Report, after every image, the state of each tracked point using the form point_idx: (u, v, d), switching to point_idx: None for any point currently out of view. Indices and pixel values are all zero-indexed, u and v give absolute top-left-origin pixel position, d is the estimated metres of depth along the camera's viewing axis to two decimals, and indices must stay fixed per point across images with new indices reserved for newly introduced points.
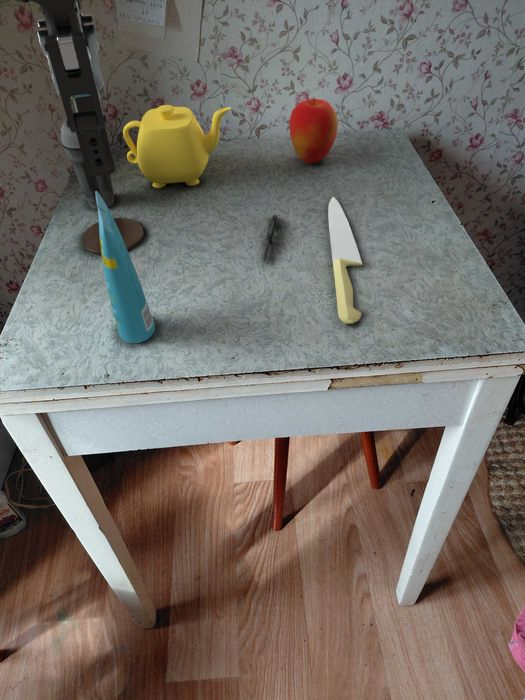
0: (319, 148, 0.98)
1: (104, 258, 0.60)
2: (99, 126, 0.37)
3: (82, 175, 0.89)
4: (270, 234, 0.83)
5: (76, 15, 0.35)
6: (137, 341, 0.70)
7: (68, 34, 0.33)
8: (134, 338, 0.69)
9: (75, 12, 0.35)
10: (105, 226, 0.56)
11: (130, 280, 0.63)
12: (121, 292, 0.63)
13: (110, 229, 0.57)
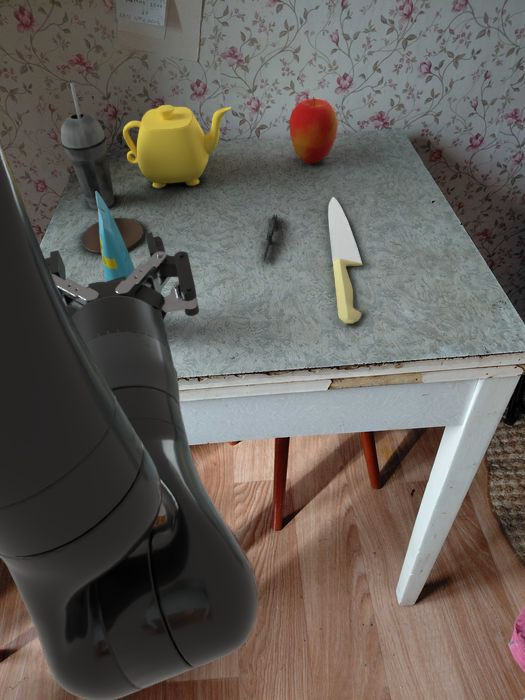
0: (319, 148, 0.98)
1: (104, 258, 0.60)
2: None
3: (82, 175, 0.89)
4: (270, 234, 0.83)
5: None
6: None
7: None
8: None
9: None
10: (105, 226, 0.56)
11: None
12: None
13: (110, 229, 0.57)
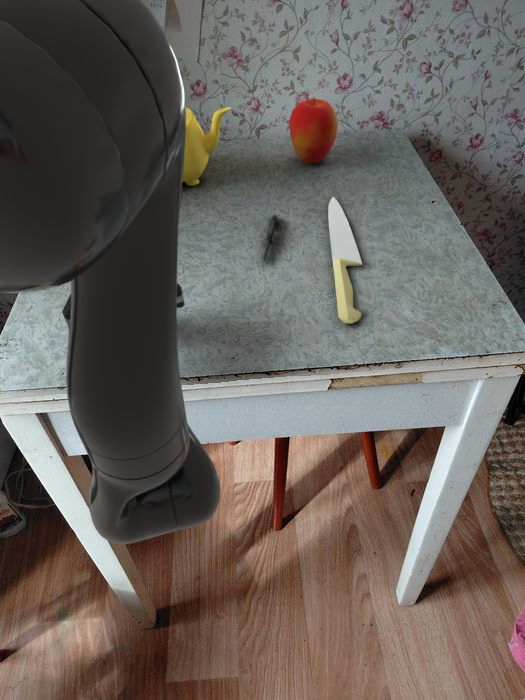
0: (319, 148, 0.98)
1: None
2: None
3: None
4: (270, 234, 0.83)
5: None
6: None
7: (68, 324, 0.59)
8: None
9: None
10: None
11: None
12: None
13: None
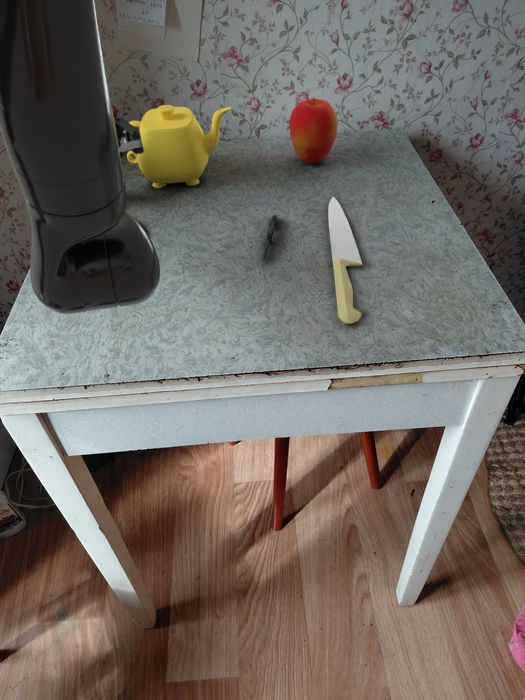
0: (319, 148, 0.98)
1: None
2: None
3: None
4: (270, 234, 0.83)
5: None
6: None
7: None
8: None
9: None
10: None
11: None
12: None
13: None
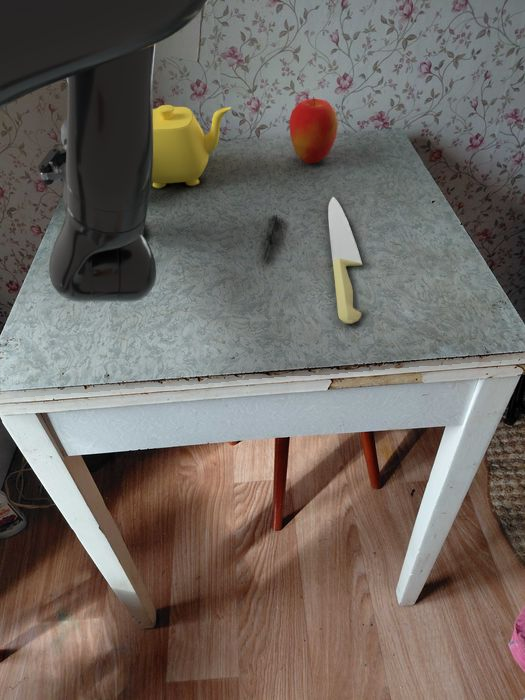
0: (319, 148, 0.98)
1: None
2: None
3: None
4: (270, 234, 0.83)
5: None
6: None
7: (43, 178, 0.71)
8: None
9: None
10: None
11: None
12: None
13: None
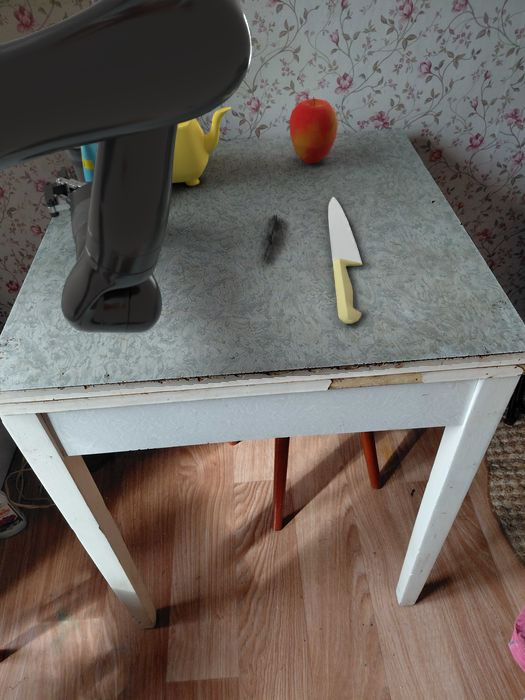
0: (319, 148, 0.98)
1: (83, 160, 0.75)
2: None
3: (82, 175, 0.89)
4: (270, 234, 0.83)
5: None
6: None
7: (52, 211, 0.73)
8: None
9: None
10: None
11: None
12: None
13: None
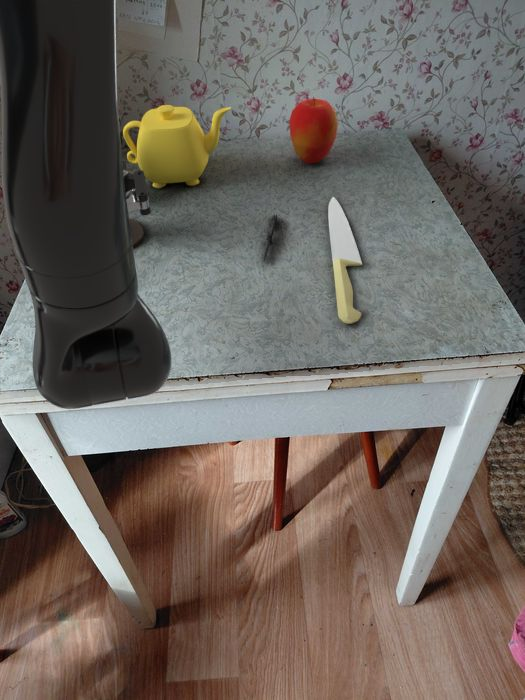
0: (319, 148, 0.98)
1: None
2: None
3: None
4: (270, 234, 0.83)
5: None
6: None
7: None
8: None
9: None
10: None
11: None
12: None
13: None
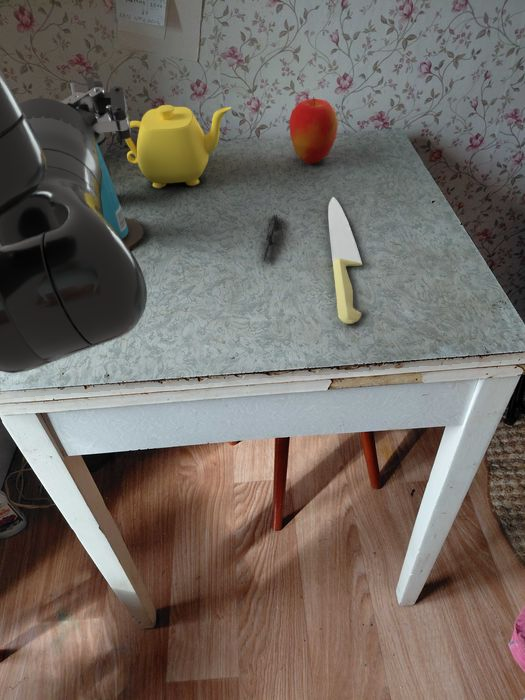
0: (319, 148, 0.98)
1: None
2: None
3: None
4: (270, 234, 0.83)
5: None
6: None
7: None
8: None
9: None
10: None
11: (105, 182, 0.78)
12: None
13: None
